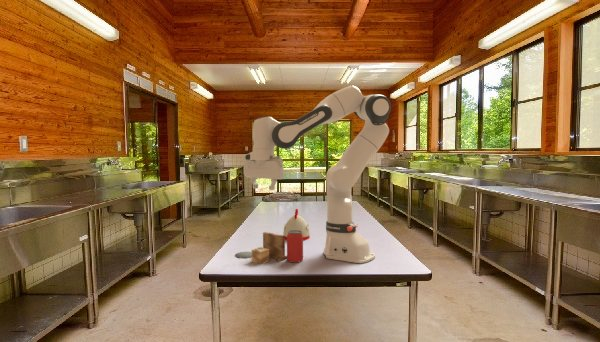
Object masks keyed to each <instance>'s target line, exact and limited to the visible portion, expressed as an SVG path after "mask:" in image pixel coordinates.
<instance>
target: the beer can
mask: <svg viewBox="0 0 600 342" xmlns="http://www.w3.org/2000/svg"><path fill="white" fill-rule="evenodd" d="M286 256H287V259H286V261H288V262H290V263H294V264H295V263H301V262H302V261H303V260H304V240H303V235H302V232H301V231H299V230H291V231H289V232H288V235H287V240H286Z"/></svg>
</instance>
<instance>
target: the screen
mask: <svg viewBox="0 0 600 342" xmlns="http://www.w3.org/2000/svg"><path fill="white" fill-rule="evenodd" d="M285 240H286V239H285V236H283V234H277V233H273V232H267V231H264V232H262V248H266V249H269V258H271V259H275V261H277V262H282V261H284V260H287V255H286V241H285Z"/></svg>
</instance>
